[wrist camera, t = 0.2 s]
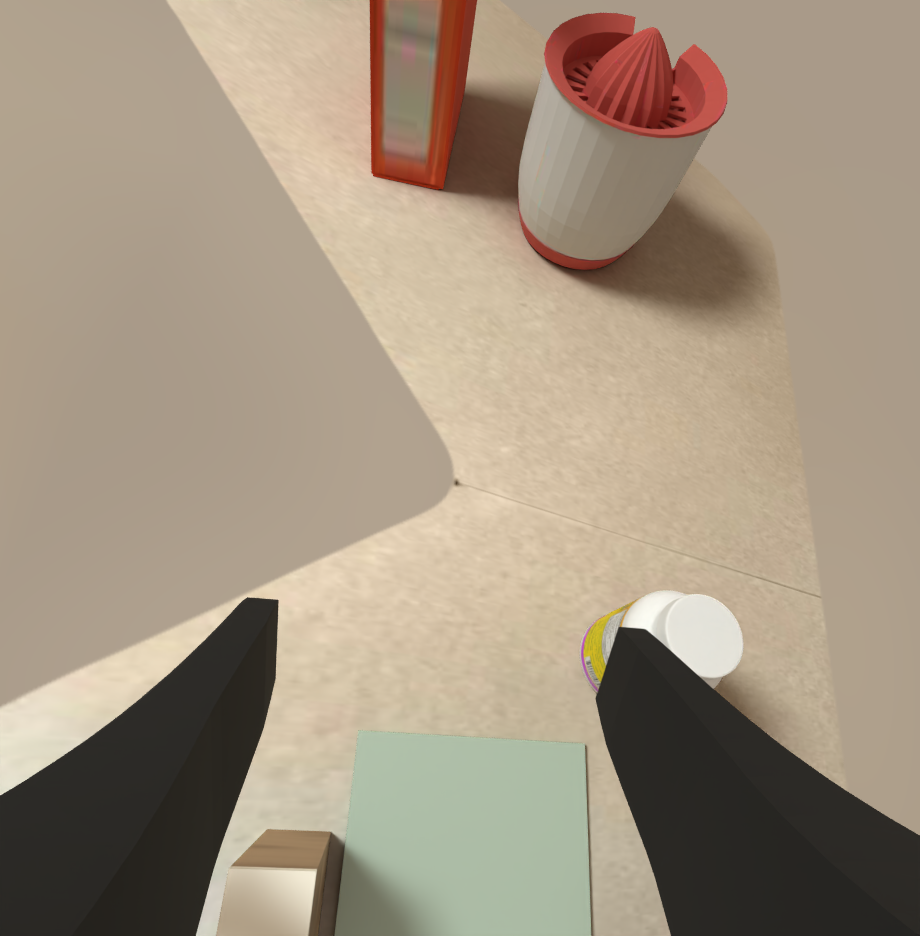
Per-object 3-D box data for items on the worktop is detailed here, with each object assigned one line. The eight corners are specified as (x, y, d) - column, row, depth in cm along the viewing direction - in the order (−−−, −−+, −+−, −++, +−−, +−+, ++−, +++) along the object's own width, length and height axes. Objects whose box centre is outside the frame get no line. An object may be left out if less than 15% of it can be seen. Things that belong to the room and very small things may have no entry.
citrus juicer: (664, 210, 66) (776, 14, 47) (611, 311, 58) (720, 125, 40) (543, 151, 67) (607, -62, 49) (476, 243, 59) (523, 33, 41)
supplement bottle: (665, 632, 45) (767, 600, 34) (651, 719, 42) (756, 716, 31) (586, 602, 45) (660, 560, 34) (566, 687, 43) (640, 673, 31)
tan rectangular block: (316, 948, 34) (294, 1040, 24) (247, 947, 34) (196, 1040, 24) (330, 831, 37) (316, 871, 27) (267, 829, 36) (228, 868, 26)
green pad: (593, 1083, 34) (596, 1087, 33) (317, 1084, 32) (316, 1089, 32) (582, 743, 41) (584, 743, 41) (358, 730, 39) (358, 730, 39)
